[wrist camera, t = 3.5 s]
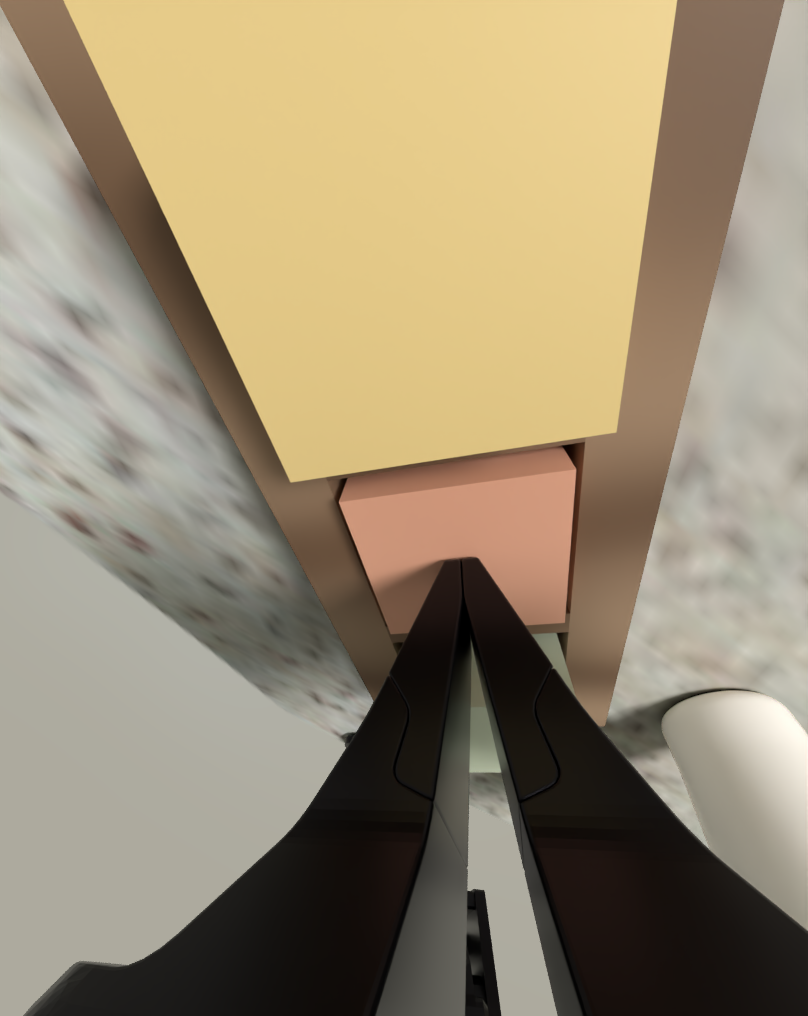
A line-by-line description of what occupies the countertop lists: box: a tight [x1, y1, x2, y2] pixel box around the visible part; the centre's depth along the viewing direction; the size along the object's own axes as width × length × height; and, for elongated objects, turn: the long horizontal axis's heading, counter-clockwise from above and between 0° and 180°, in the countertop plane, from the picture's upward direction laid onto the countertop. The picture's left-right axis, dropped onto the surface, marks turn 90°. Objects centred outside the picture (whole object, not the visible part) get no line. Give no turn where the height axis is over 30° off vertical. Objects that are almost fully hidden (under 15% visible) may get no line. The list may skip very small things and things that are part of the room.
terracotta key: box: [339, 445, 576, 634], centre depth 10 cm, size 5×5×3 cm
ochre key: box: [63, 0, 677, 482], centre depth 5 cm, size 5×5×3 cm
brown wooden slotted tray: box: [0, 0, 784, 726], centre depth 10 cm, size 21×9×2 cm, turn 12°
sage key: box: [403, 633, 576, 773], centre depth 13 cm, size 5×5×3 cm
